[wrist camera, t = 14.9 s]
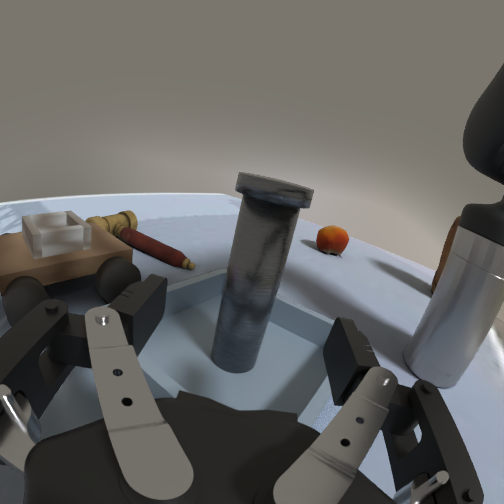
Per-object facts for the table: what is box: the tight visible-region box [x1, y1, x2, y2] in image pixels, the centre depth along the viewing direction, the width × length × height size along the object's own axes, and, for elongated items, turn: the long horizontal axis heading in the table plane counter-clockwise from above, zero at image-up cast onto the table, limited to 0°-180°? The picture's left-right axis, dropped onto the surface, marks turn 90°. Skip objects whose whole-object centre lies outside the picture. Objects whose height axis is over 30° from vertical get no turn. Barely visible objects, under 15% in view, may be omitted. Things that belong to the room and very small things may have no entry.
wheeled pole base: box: [0, 211, 141, 327], centre depth 25 cm, size 16×15×8 cm
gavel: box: [85, 211, 195, 270], centre depth 43 cm, size 21×5×10 cm
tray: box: [88, 268, 363, 427], centre depth 23 cm, size 18×18×4 cm
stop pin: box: [211, 172, 314, 374], centre depth 21 cm, size 5×5×15 cm
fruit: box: [316, 226, 349, 257], centre depth 67 cm, size 8×8×8 cm
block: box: [432, 216, 461, 293], centre depth 51 cm, size 11×8×20 cm
